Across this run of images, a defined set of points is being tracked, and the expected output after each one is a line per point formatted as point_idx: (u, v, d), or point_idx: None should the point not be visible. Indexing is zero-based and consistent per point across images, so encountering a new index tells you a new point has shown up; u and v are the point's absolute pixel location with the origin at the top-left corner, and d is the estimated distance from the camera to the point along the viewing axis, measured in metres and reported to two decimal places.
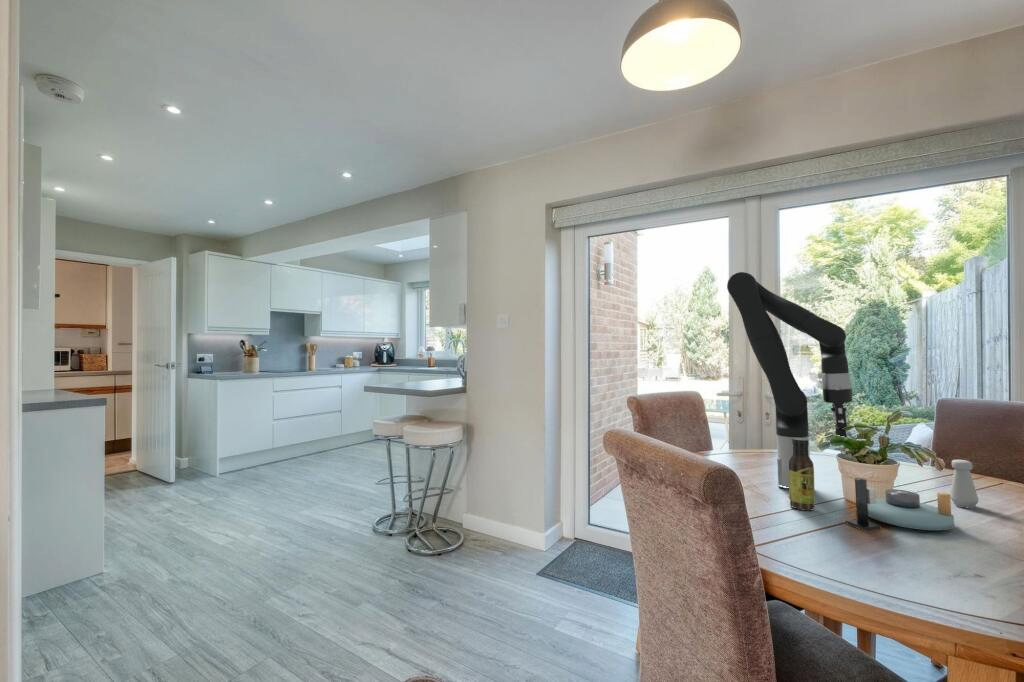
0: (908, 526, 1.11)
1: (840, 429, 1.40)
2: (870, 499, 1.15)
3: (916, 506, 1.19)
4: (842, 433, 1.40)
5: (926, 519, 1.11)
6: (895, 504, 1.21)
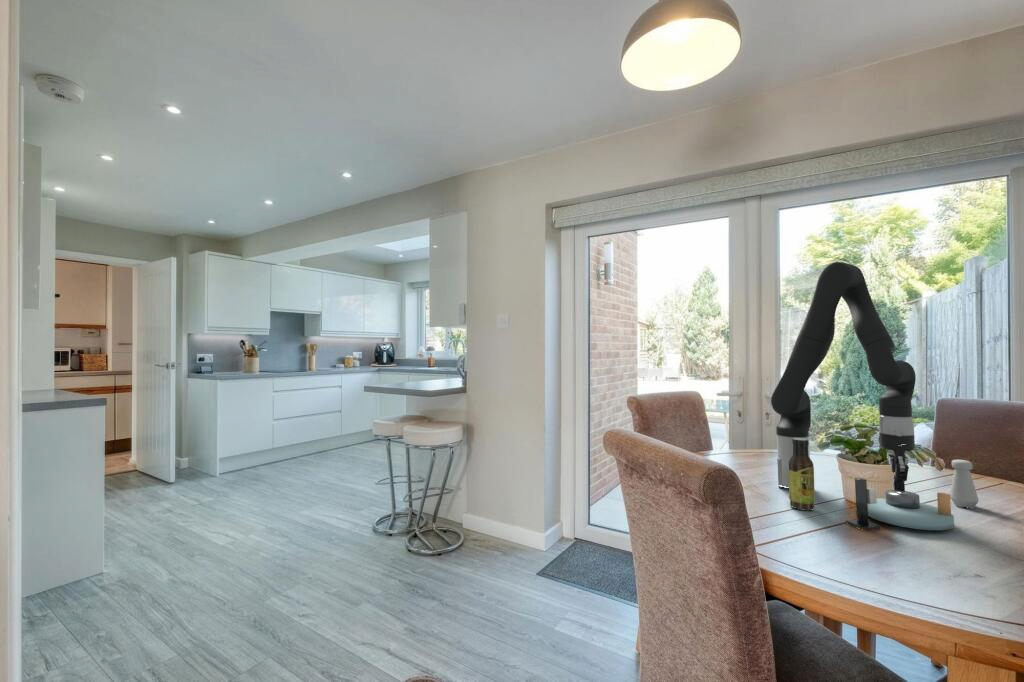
0: (908, 526, 1.11)
1: (898, 482, 1.25)
2: (870, 499, 1.15)
3: (916, 506, 1.19)
4: (900, 486, 1.25)
5: (926, 519, 1.11)
6: (895, 504, 1.20)
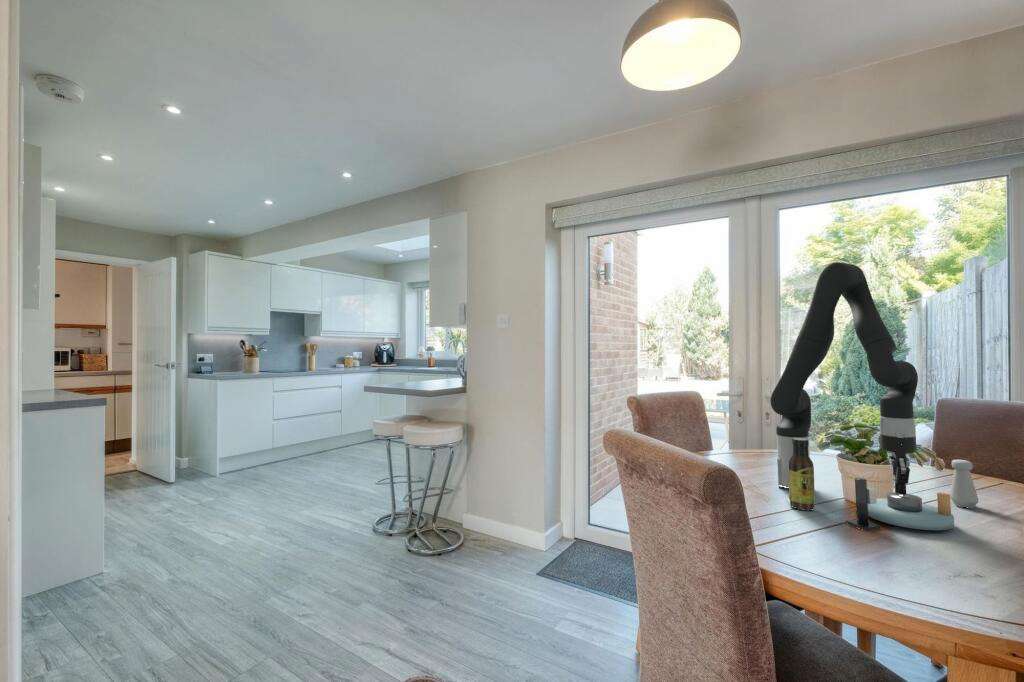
0: (909, 526, 1.11)
1: (899, 484, 1.23)
2: (870, 499, 1.15)
3: (919, 510, 1.16)
4: (901, 489, 1.23)
5: (926, 519, 1.11)
6: (897, 508, 1.18)
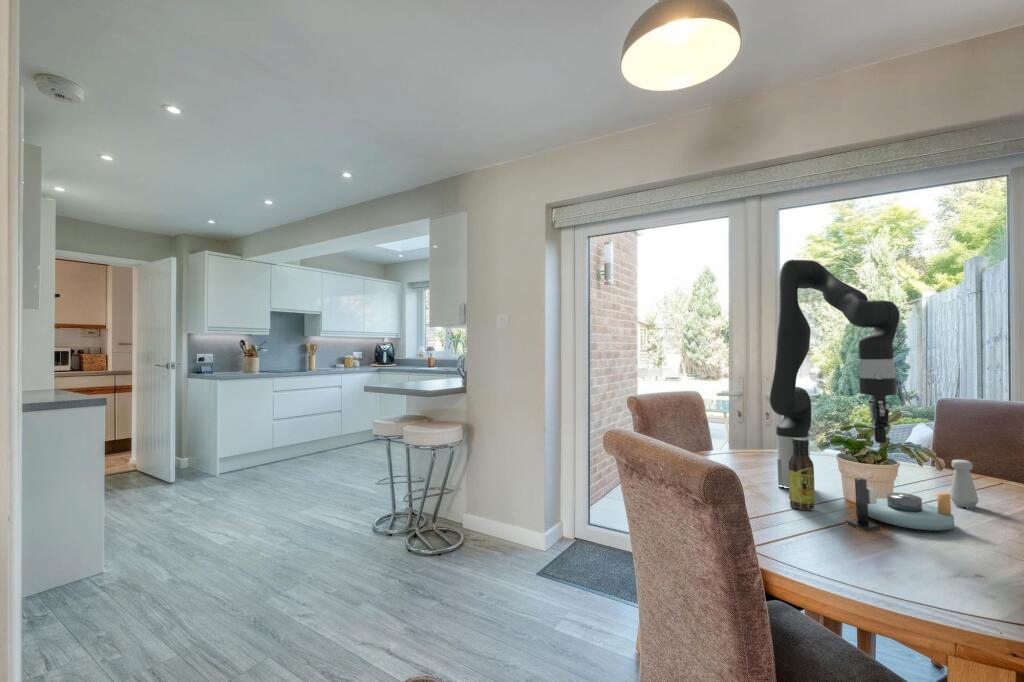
0: (909, 526, 1.11)
1: (879, 429, 1.17)
2: (870, 499, 1.15)
3: (919, 510, 1.16)
4: (881, 434, 1.17)
5: (926, 519, 1.11)
6: (898, 508, 1.18)
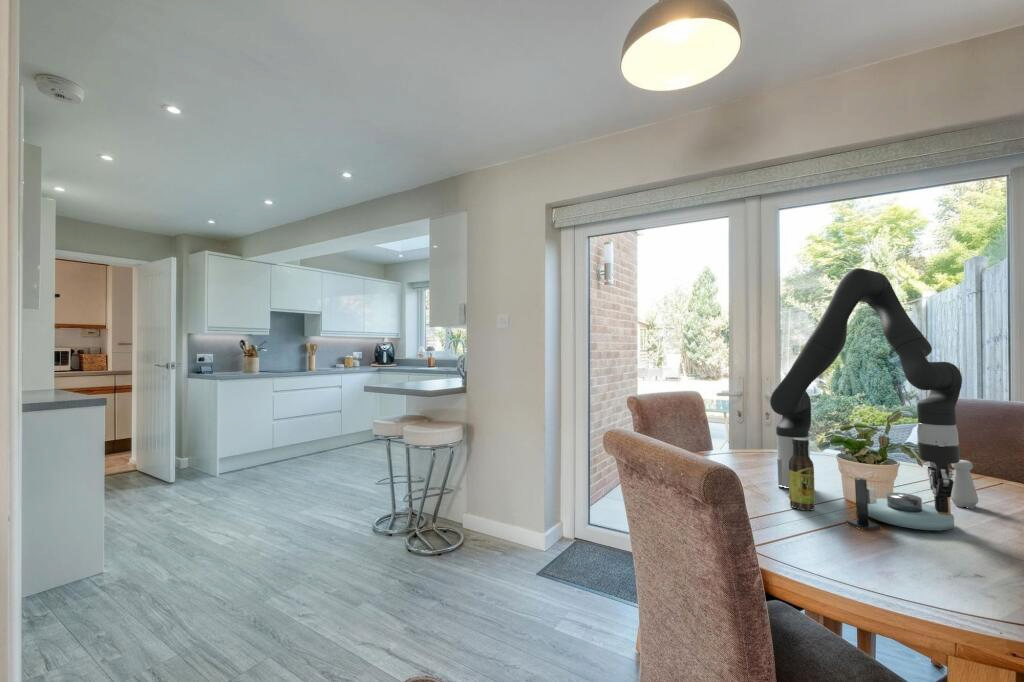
0: (910, 526, 1.11)
1: (940, 498, 1.11)
2: (870, 499, 1.15)
3: (919, 510, 1.16)
4: (943, 503, 1.11)
5: (927, 519, 1.11)
6: (898, 508, 1.18)
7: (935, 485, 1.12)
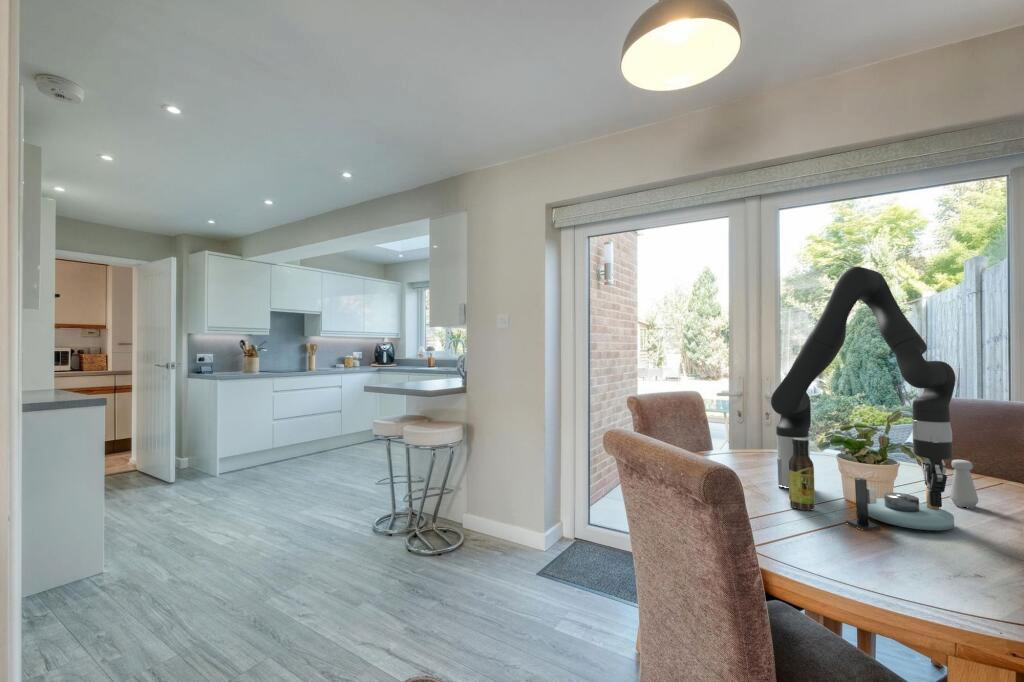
0: (936, 529, 1.09)
1: (934, 493, 1.15)
2: (870, 499, 1.15)
3: None
4: (937, 498, 1.15)
5: (942, 518, 1.12)
6: (905, 510, 1.17)
7: (929, 480, 1.15)
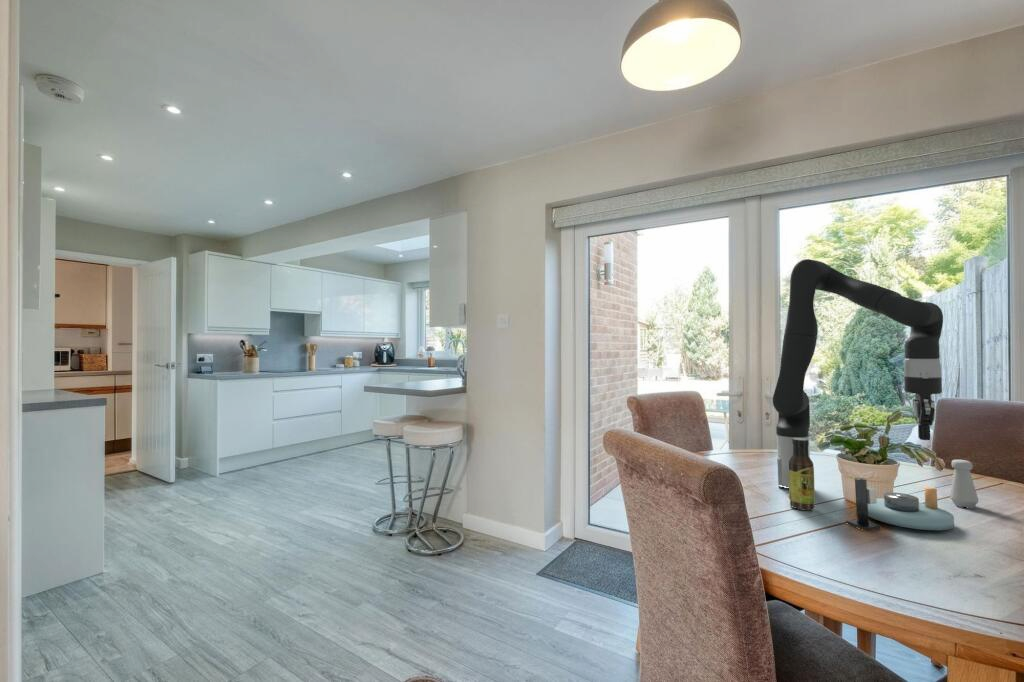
0: (938, 528, 1.09)
1: (923, 427, 1.21)
2: (870, 499, 1.15)
3: None
4: (925, 431, 1.21)
5: (943, 518, 1.12)
6: (906, 510, 1.17)
7: (919, 415, 1.21)
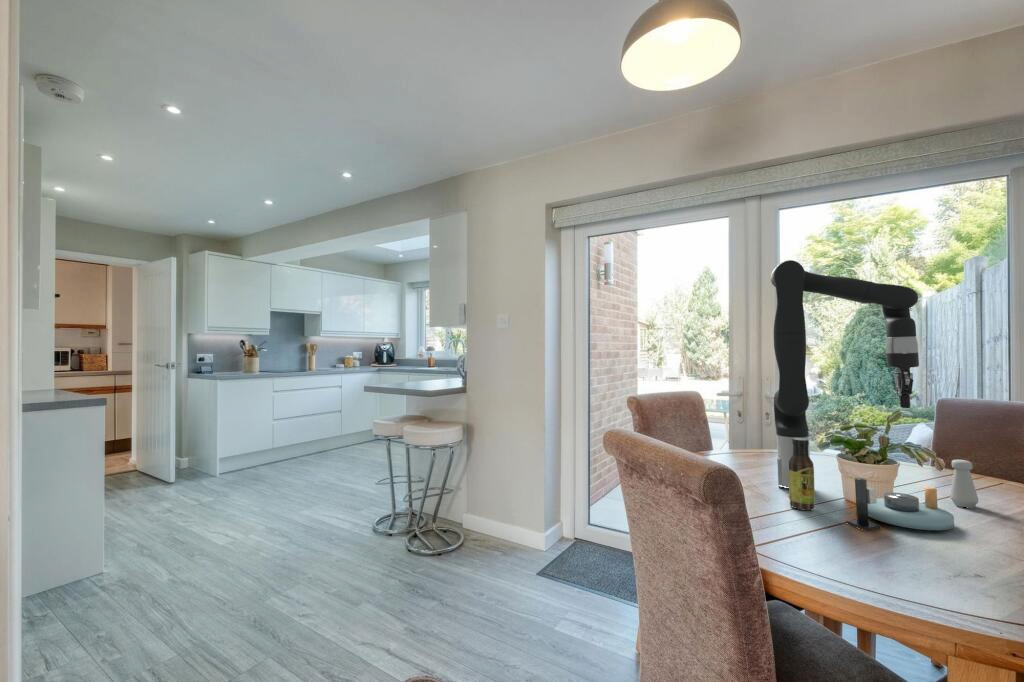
0: (938, 528, 1.09)
1: (904, 396, 1.39)
2: (870, 499, 1.15)
3: None
4: (906, 400, 1.38)
5: (943, 518, 1.12)
6: (906, 510, 1.17)
7: (900, 386, 1.39)
